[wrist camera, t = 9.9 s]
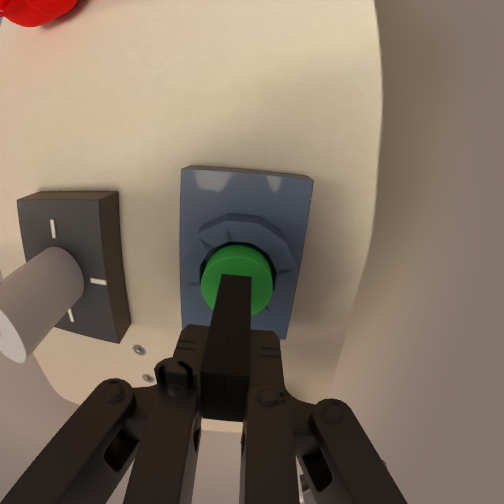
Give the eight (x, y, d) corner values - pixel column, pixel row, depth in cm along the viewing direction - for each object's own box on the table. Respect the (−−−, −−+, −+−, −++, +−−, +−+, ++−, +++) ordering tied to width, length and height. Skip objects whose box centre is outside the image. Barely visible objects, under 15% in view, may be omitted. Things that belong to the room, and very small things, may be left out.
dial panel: (131, 323, 23) (118, 345, 20) (58, 307, 22) (42, 324, 20) (118, 191, 18) (97, 200, 15) (38, 191, 18) (15, 200, 15)
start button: (266, 305, 17) (268, 321, 16) (205, 299, 17) (200, 315, 16) (275, 247, 16) (277, 259, 14) (206, 241, 16) (201, 252, 14)
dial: (79, 248, 17) (4, 309, 9) (89, 305, 19) (34, 375, 11) (36, 243, 17) (-34, 292, 9) (47, 295, 18) (-8, 353, 11)
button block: (283, 323, 22) (287, 355, 19) (187, 314, 22) (177, 345, 18) (307, 176, 18) (320, 184, 14) (189, 165, 18) (172, 171, 14)
